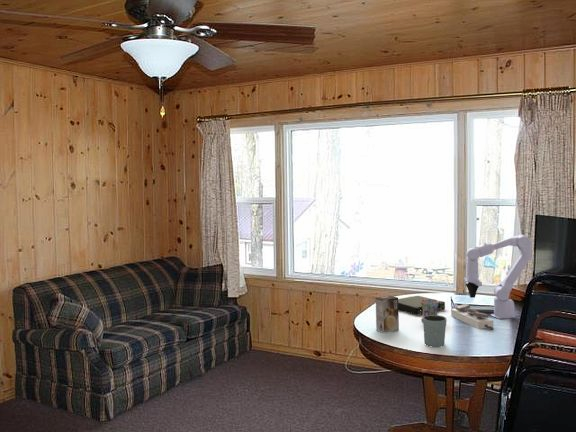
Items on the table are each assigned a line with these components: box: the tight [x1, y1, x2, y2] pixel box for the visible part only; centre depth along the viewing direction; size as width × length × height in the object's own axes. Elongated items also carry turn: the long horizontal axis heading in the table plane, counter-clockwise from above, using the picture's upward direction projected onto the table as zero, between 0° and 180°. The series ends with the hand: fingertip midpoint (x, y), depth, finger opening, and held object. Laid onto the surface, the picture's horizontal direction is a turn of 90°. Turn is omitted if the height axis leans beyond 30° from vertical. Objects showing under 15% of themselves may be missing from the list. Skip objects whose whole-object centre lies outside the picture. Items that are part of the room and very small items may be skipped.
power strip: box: [450, 308, 494, 331], centre depth 285 cm, size 8×32×4 cm, turn 13°
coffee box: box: [375, 295, 400, 333], centre depth 275 cm, size 9×6×16 cm
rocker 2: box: [464, 308, 479, 313], centre depth 287 cm, size 6×4×2 cm, turn 104°
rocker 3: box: [473, 311, 489, 318], centre depth 280 cm, size 6×4×2 cm, turn 103°
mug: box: [420, 298, 440, 322], centre depth 290 cm, size 12×9×11 cm
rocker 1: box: [455, 303, 471, 311], centre depth 295 cm, size 6×4×2 cm, turn 102°
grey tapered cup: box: [422, 314, 448, 348], centre depth 251 cm, size 10×10×12 cm
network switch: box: [398, 295, 446, 316], centre depth 316 cm, size 23×24×5 cm
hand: (472, 297), depth 297 cm, fingers closed
